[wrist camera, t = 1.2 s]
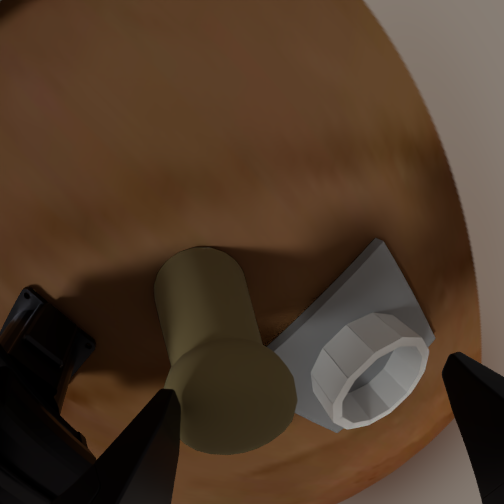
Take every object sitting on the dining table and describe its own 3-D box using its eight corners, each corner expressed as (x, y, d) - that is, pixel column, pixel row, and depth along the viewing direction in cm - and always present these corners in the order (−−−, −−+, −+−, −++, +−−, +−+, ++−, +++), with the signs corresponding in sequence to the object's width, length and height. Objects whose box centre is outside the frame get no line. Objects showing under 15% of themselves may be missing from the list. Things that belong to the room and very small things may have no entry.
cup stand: (333, 427, 28) (353, 457, 24) (236, 373, 22) (253, 419, 17) (429, 334, 28) (459, 356, 23) (375, 237, 21) (420, 259, 17)
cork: (263, 272, 20) (351, 391, 10) (217, 341, 21) (262, 475, 11) (180, 230, 17) (202, 352, 7) (138, 310, 18) (131, 458, 8)
